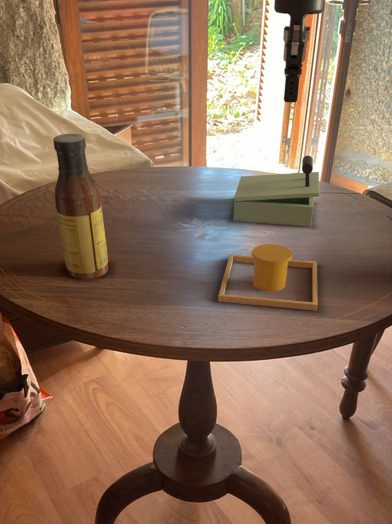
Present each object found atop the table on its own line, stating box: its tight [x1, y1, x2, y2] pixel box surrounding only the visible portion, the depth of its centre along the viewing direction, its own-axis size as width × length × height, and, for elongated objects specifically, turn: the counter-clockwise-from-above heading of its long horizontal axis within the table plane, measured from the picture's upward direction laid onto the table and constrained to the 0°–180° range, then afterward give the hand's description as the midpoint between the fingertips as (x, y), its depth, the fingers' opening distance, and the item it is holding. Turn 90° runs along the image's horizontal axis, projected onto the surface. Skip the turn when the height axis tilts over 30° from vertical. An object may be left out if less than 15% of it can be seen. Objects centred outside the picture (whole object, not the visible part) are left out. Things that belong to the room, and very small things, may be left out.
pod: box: [251, 243, 293, 293], centre depth 80 cm, size 6×6×5 cm
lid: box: [233, 155, 320, 202], centre depth 100 cm, size 14×12×5 cm
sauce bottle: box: [53, 133, 109, 280], centre depth 79 cm, size 7×6×20 cm
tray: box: [217, 254, 318, 311], centre depth 81 cm, size 13×13×2 cm
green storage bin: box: [232, 197, 315, 228], centre depth 104 cm, size 14×12×4 cm
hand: (290, 101), depth 94 cm, fingers closed
